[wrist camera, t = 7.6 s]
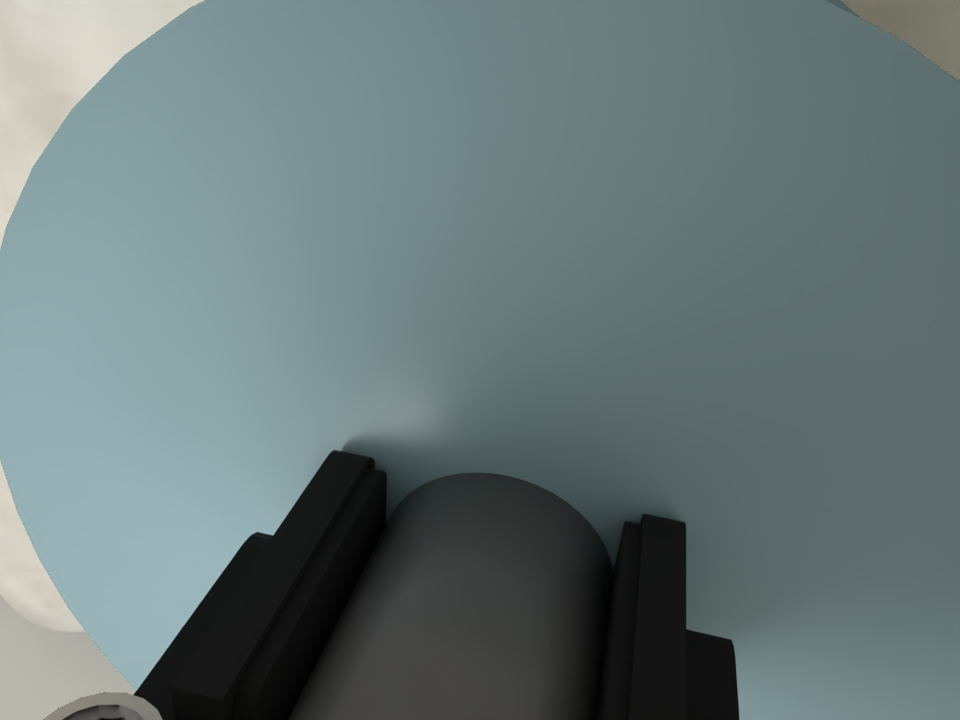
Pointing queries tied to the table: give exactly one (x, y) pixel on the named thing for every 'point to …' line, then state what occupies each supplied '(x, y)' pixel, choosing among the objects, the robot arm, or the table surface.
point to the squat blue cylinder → (507, 340)
